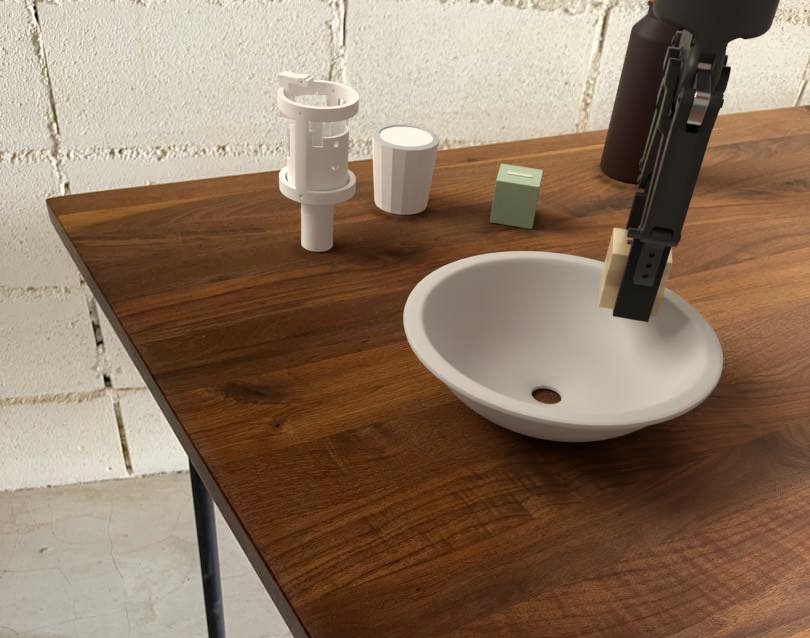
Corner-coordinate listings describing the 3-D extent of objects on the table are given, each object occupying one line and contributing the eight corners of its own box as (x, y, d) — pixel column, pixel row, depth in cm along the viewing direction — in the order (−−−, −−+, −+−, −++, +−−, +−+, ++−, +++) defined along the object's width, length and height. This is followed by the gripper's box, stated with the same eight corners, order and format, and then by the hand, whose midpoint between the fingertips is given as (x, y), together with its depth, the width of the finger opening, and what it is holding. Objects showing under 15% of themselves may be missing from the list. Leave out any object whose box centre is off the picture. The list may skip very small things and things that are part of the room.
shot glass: (433, 219, 92) (440, 151, 87) (367, 215, 92) (371, 146, 87) (431, 191, 97) (438, 125, 92) (369, 186, 97) (372, 120, 92)
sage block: (535, 211, 95) (543, 169, 92) (532, 229, 92) (540, 186, 89) (494, 204, 96) (501, 162, 93) (489, 222, 93) (496, 179, 89)
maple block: (655, 289, 72) (671, 235, 68) (656, 317, 68) (673, 262, 65) (600, 279, 72) (613, 226, 69) (598, 307, 69) (612, 252, 66)
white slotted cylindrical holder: (300, 221, 89) (299, 60, 79) (364, 238, 88) (372, 76, 77) (267, 250, 85) (262, 82, 74) (334, 268, 83) (338, 100, 73)
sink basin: (552, 294, 83) (567, 227, 78) (758, 431, 70) (790, 360, 66) (338, 366, 72) (340, 292, 67) (536, 544, 59) (556, 469, 54)
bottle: (602, 181, 103) (650, -17, 88) (595, 157, 107) (639, -34, 93) (660, 186, 103) (716, -10, 89) (651, 163, 108) (703, -27, 94)
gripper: (664, -86, 61) (588, 233, 77) (671, -20, 47) (577, 351, 63) (775, -71, 60) (675, 247, 76) (814, 0, 47) (682, 369, 63)
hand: (630, 294), depth 70 cm, fingers open, 6 cm apart
